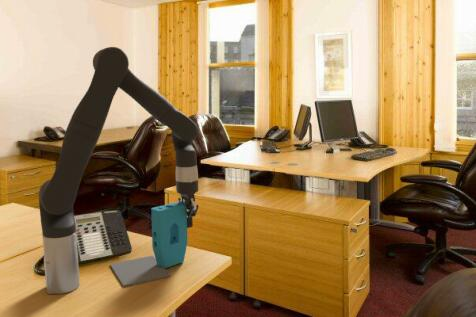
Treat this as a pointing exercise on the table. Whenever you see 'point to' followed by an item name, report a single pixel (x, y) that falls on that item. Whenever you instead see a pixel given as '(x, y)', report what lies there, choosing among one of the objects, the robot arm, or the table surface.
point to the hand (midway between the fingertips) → (189, 227)
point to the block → (169, 234)
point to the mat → (138, 271)
